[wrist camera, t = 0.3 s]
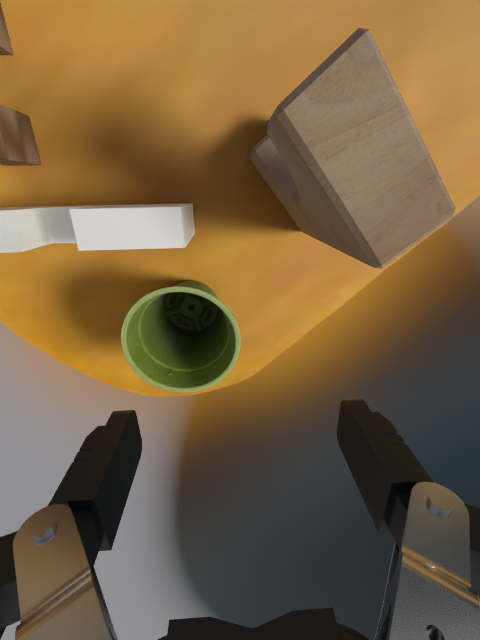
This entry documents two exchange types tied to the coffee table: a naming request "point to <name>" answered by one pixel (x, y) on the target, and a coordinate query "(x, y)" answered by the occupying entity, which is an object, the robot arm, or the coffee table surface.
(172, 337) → the plant pot
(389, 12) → the coffee table surface
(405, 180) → the decorative block
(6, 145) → the walnut notched plate
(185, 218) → the white notched plate
